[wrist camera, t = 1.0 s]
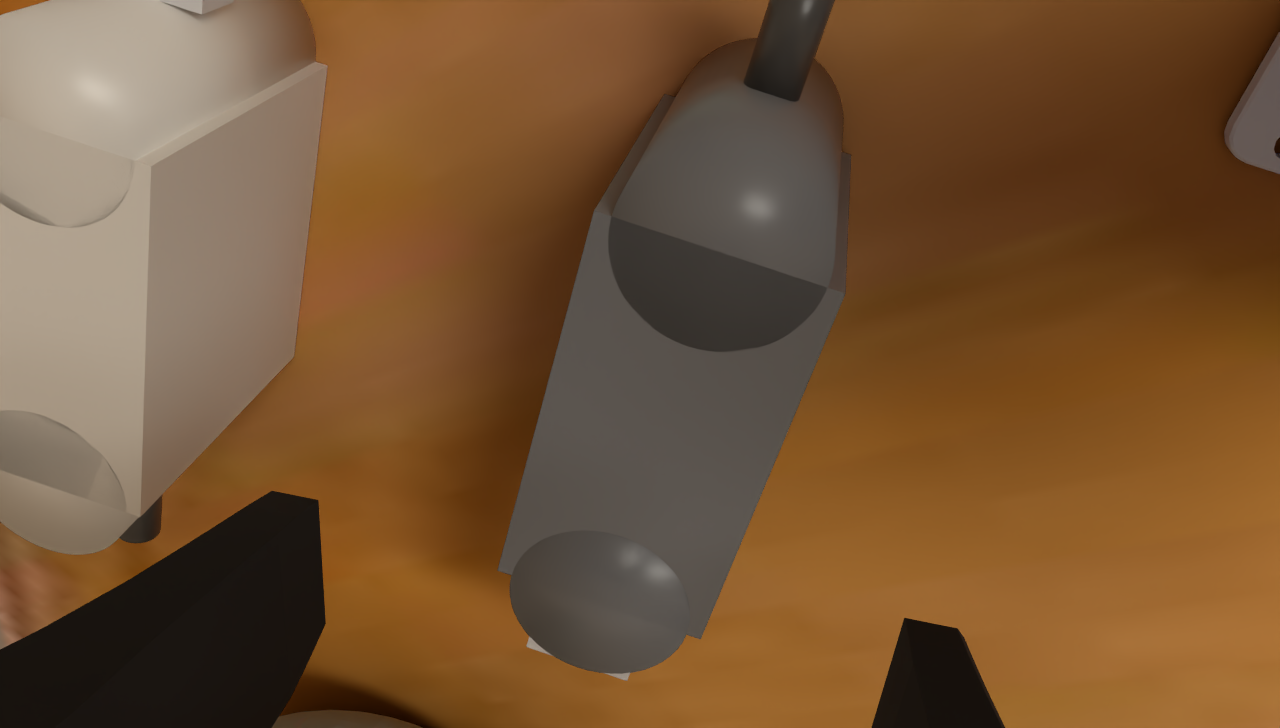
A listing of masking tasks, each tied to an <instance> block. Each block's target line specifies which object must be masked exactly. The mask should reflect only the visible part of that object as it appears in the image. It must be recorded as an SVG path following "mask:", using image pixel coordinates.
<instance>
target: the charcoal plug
mask: <svg viewBox="0 0 1280 728" xmlns="http://www.w3.org/2000/svg"><path fill="white" fill-rule="evenodd" d="M834 1H835V0H770V1H769V4H768V7H767V10H766V13H765V16H764V19H763V23H762V26H761V29H760V32H759V35H758V38H752V39H745V40H739V41H736V42H732V43H729V44H727V45H724V46H722V47H720V48H718V49H716V50H715V51H713V52H712V53H710V54H708V55H707V56H706V57H705V58H704V59H702V60H701V61H700V62H699V63H698V64H697V65H696V66H695V67H694V68H693V70H692V71H691V72H690V74H689V75H688V77H687V78H686V80H685V81H684V83H683V85H682V87H681V89H680V90H679V92H678V94H677V96H676V97H672V96H669V95H666V94H664V96H663V97H662V99H661V101H660V102H659V104H658V106H657V107H656V109H655V111H654V112H653V114H652V116H651V117H650V119H649V120H648V122H647V124H646V125H645V127H644V129H643V130H642V132H641V134H640V135H639V137H638V139H637V140H636V142H635V144H634V145H633V147H632V149H631V150H630V152H629V154H628V155H627V157H626V159H625V160H624V162H623V164H622V165H621V167H620V169H619V170H618V172H617V173H616V175H615V177H614V178H613V180H612V182H611V183H610V185H609V187H608V188H607V190H606V192H605V193H604V195H603V197H602V198H601V200H600V202H599V203H598V205H597V207H596V208H595V210H594V213H593V217H592V220H591V224H590V228H589V231H588V235H587V239H586V243H585V246H584V250H583V254H582V258H581V261H580V265H579V269H578V272H577V276H576V280H575V284H574V287H573V291H572V295H571V299H570V302H569V306H568V310H567V313H566V317H565V321H564V325H563V328H562V332H561V336H560V339H559V343H558V347H557V351H556V354H555V358H554V362H553V366H552V369H551V373H550V377H549V380H548V384H547V388H546V392H545V395H544V399H543V403H542V407H541V410H540V414H539V418H538V421H537V425H536V429H535V433H534V436H533V440H532V444H531V448H530V451H529V455H528V459H527V462H526V466H525V470H524V474H523V477H522V481H521V485H520V489H519V492H518V496H517V500H516V503H515V507H514V511H513V515H512V518H511V522H510V526H509V529H508V533H507V537H506V541H505V544H504V548H503V552H502V556H501V559H500V563H499V567H498V570H497V571H500V572H503V573H506V574H509V575H511V581H510V598H511V604H512V607H513V610H514V613H515V615H516V617H517V619H518V621H519V623H520V624H521V626H522V627H523V629H524V630H525V631H526V633H527V634H528V635H529V640H528V643H527V646H526V647H528V648H531V649H534V650H537V651H540V652H543V653H546V654H549V655H552V656H554V657H556V658H558V659H560V660H562V661H564V662H566V663H568V664H570V665H573V666H576V667H578V668H582V669H585V670H589V671H594V672H599V673H605V674H608V675H611V676H614V677H617V678H620V679H622V680H625V681H627V680H628V677H629V674H630V673H631V672H637V671H641V670H645V669H647V668H650V667H653V666H655V665H657V664H659V663H661V662H663V661H664V660H665V659H667V658H668V657H670V656H671V655H672V654H673V653H674V652H675V651H676V650H677V649H678V648H679V646H680V645H681V644H682V642H683V640H684V638H685V636H686V634H687V635H689V636H692V637H695V638H698V639H701V637H702V635H703V632H704V630H705V627H706V625H707V623H708V620H709V618H710V616H711V613H712V611H713V608H714V606H715V604H716V601H717V599H718V596H719V594H720V592H721V589H722V587H723V585H724V582H725V580H726V577H727V575H728V573H729V570H730V568H731V565H732V563H733V561H734V558H735V556H736V553H737V551H738V549H739V546H740V544H741V542H742V539H743V537H744V534H745V532H746V530H747V527H748V525H749V522H750V520H751V518H752V515H753V513H754V511H755V508H756V506H757V503H758V501H759V499H760V496H761V494H762V491H763V489H764V487H765V484H766V482H767V480H768V477H769V475H770V472H771V470H772V468H773V465H774V463H775V460H776V458H777V456H778V453H779V451H780V449H781V446H782V444H783V441H784V439H785V437H786V434H787V432H788V429H789V427H790V425H791V422H792V420H793V417H794V415H795V413H796V410H797V408H798V406H799V403H800V401H801V398H802V396H803V394H804V391H805V389H806V386H807V384H808V382H809V379H810V377H811V375H812V372H813V370H814V367H815V365H816V363H817V360H818V358H819V355H820V353H821V351H822V348H823V346H824V344H825V341H826V339H827V336H828V334H829V332H830V329H831V327H832V324H833V322H834V320H835V317H836V315H837V313H838V310H839V308H840V305H841V303H842V301H843V298H844V296H845V292H846V268H847V244H848V219H849V195H850V170H851V155H850V154H847V153H844V152H842V140H843V119H844V118H843V109H842V104H841V100H840V96H839V93H838V91H837V88H836V86H835V84H834V82H833V81H832V79H831V77H830V76H829V74H828V73H827V72H826V70H825V69H824V68H823V67H822V66H821V65H820V64H819V63H818V62H817V61H816V60H815V59H814V57H815V54H816V52H817V49H818V46H819V43H820V40H821V38H822V35H823V32H824V29H825V26H826V24H827V21H828V18H829V15H830V12H831V9H832V7H833V4H834Z"/></svg>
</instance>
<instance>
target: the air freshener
mask: <svg viewBox="0 0 1280 728" xmlns="http://www.w3.org/2000/svg"><path fill="white" fill-rule="evenodd" d="M272 728H422V727H420V726H418V725H415V724H411V723H408V722H405V721H402V720H399V719H395V718H392V717H388V716H382V715H377V714H372V713H367V712H360V711H345V710H320V711H305V712H297V713H292V714H288V715H283V716H279V717H278V719H277V720H276V722H275V723H274V725H273V726H272Z"/></svg>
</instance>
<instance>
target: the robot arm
mask: <svg viewBox="0 0 1280 728" xmlns="http://www.w3.org/2000/svg"><path fill="white" fill-rule="evenodd" d="M1224 137H1225V144H1226V145H1227V147H1228V148H1229V150H1230V151H1231V153H1232V154H1233V155H1234V156H1235V157H1236V158H1238V159H1239V160H1241V161H1243V162H1245V163H1247V164H1250V165H1253V166H1256V167H1259V168H1262V169H1265V170H1269V171H1272V172H1275V173H1278V174H1280V154H1279V153H1275V151H1274V147H1275V143H1276V141H1277V139H1278V138H1279V137H1280V31H1279V33H1278V35H1277V37H1276V38H1275V40H1274V42H1273V44H1272V45H1271V47H1270V49H1269V50H1268V52H1267V54H1266V56H1265V57H1264V59H1263V61H1262V63H1261V64H1260V66H1259V68H1258V70H1257V71H1256V73H1255V75H1254V77H1253V78H1252V80H1251V82H1250V84H1249V85H1248V87H1247V89H1246V90H1245V92H1244V94H1243V96H1242V97H1241V99H1240V101H1239V103H1238V104H1237V106H1236V108H1235V110H1234V111H1233V113H1232V115H1231V117H1230V118H1229V120H1228V122H1227V125H1226V128H1225V131H1224ZM325 624H326V623H325V606H324V589H323V572H322V555H321V538H320V521H319V504H318V500H315V499H310V498H305V497H300V496H295V495H290V494H285V493H280V492H275V491H271V492H269V493H268V494H266V495H264V496H263V497H261V498H259V499H258V500H256V501H254V502H253V503H251V504H249V505H248V506H246V507H245V508H243V509H242V510H240V511H238V512H237V513H235V514H234V515H232V516H230V517H229V518H227V519H226V520H224V521H223V522H221V523H220V524H218V525H216V526H215V527H213V528H212V529H210V530H209V531H207V532H205V533H204V534H202V535H201V536H199V537H198V538H196V539H194V540H193V541H191V542H190V543H188V544H187V545H185V546H183V547H182V548H180V549H178V550H177V551H175V552H174V553H172V554H170V555H169V556H167V557H165V558H164V559H162V560H161V561H159V562H157V563H156V564H154V565H152V566H151V567H149V568H148V569H146V570H144V571H143V572H141V573H139V574H138V575H136V576H135V577H133V578H131V579H130V580H128V581H126V582H125V583H123V584H121V585H119V586H117V587H116V588H114V589H112V590H110V591H109V592H107V593H105V594H103V595H101V596H100V597H98V598H96V599H94V600H92V601H91V602H89V603H87V604H85V605H84V606H82V607H80V608H78V609H76V610H75V611H73V612H71V613H69V614H67V615H66V616H64V617H62V618H60V619H59V620H57V621H55V622H53V623H51V624H50V625H48V626H46V627H44V628H42V629H40V630H38V631H36V632H34V633H32V634H30V635H29V636H27V637H25V638H23V639H21V640H19V641H17V642H15V643H12V644H10V645H8V646H6V647H4V648H2V649H0V728H272V726H273V725H274V723H275V722H276V720H277V719H278V717H279V715H280V714H281V712H282V711H283V709H284V707H285V706H286V704H287V702H288V701H289V699H290V698H291V696H292V694H293V692H294V690H295V688H296V686H297V684H298V682H299V680H300V678H301V676H302V674H303V671H304V669H305V667H306V665H307V663H308V661H309V659H310V657H311V655H312V652H313V650H314V648H315V646H316V644H317V641H318V639H319V637H320V635H321V633H322V630H323V628H324V626H325ZM872 728H1005V727H1004V725H1003V722H1002V720H1001V718H1000V716H999V714H998V712H997V710H996V708H995V706H994V704H993V702H992V700H991V698H990V695H989V693H988V691H987V689H986V687H985V685H984V682H983V680H982V678H981V676H980V673H979V671H978V669H977V667H976V664H975V662H974V660H973V657H972V655H971V653H970V651H969V648H968V646H967V643H966V641H965V639H964V637H963V636H962V634H961V633H960V631H959V630H958V629H957V628H952V627H947V626H942V625H937V624H932V623H927V622H922V621H917V620H912V619H907V618H904V621H903V625H902V628H901V631H900V635H899V638H898V641H897V645H896V648H895V651H894V655H893V658H892V661H891V665H890V668H889V671H888V675H887V678H886V681H885V685H884V688H883V691H882V695H881V698H880V701H879V705H878V708H877V711H876V715H875V718H874V721H873V725H872Z"/></svg>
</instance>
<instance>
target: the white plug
mask: <svg viewBox="0 0 1280 728" xmlns="http://www.w3.org/2000/svg"><path fill="white" fill-rule="evenodd" d="M315 60H316V46H315V38H314V33H313V28H312V25H311V22H310V19H309V17H308V15H307V12H306V10H305V8H304V6H303V4H302V3H301V1H300V0H50V1H46V2H43V3H39V4H36V5H33V6H29V7H26V8H23V9H19V10H16V11H12V12H9V13H6V14H2V15H0V522H1V523H2V524H4V525H5V526H6V527H7V528H9V529H10V530H11V531H13V532H14V533H16V534H17V535H19V536H20V537H22V538H24V539H25V540H27V541H29V542H31V543H33V544H35V545H37V546H40V547H43V548H45V549H48V550H51V551H55V552H59V553H65V554H74V555H82V554H91V553H95V552H98V551H101V550H104V549H105V548H107V547H109V546H110V545H112V544H113V543H114V542H115V541H116V540H117V539H118V538H120V539H122V540H123V541H126V542H130V543H143V542H147V541H150V540H152V539H154V538H155V537H156V536H157V535H158V534H159V533H160V530H161V513H162V494H163V493H164V492H165V491H166V490H167V489H168V488H169V487H170V486H171V485H172V484H173V483H174V482H175V481H176V479H177V478H178V477H179V476H180V475H181V474H182V473H183V472H184V471H185V470H186V469H187V468H188V467H189V466H190V465H191V464H192V463H193V462H194V461H195V460H196V459H197V458H198V457H199V455H200V454H201V453H202V452H203V451H204V450H205V449H206V448H207V447H208V446H209V445H210V444H211V443H212V442H213V441H214V440H215V439H216V438H217V437H218V436H219V435H220V434H221V433H222V431H223V430H224V429H225V428H226V427H227V426H228V425H229V424H230V423H231V422H232V421H233V420H234V419H235V418H236V417H237V416H238V415H239V414H240V413H241V412H242V411H243V410H244V409H245V407H246V406H247V405H248V404H249V403H250V402H251V401H252V400H253V399H254V398H255V397H256V396H257V395H258V394H259V393H260V392H261V391H262V390H263V389H264V388H265V387H266V386H267V384H268V383H269V382H270V381H271V380H272V379H273V378H274V377H275V376H276V375H277V374H278V373H279V372H280V371H281V370H282V369H283V368H284V367H285V366H286V365H287V364H288V363H289V362H290V360H291V359H292V358H293V357H294V353H295V344H296V336H297V327H298V318H299V310H300V301H301V292H302V284H303V275H304V266H305V258H306V249H307V240H308V232H309V223H310V214H311V206H312V197H313V188H314V180H315V171H316V162H317V154H318V145H319V136H320V128H321V119H322V110H323V102H324V93H325V84H326V76H327V67H328V66H327V65H324V64H321V63H318V62H315Z"/></svg>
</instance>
